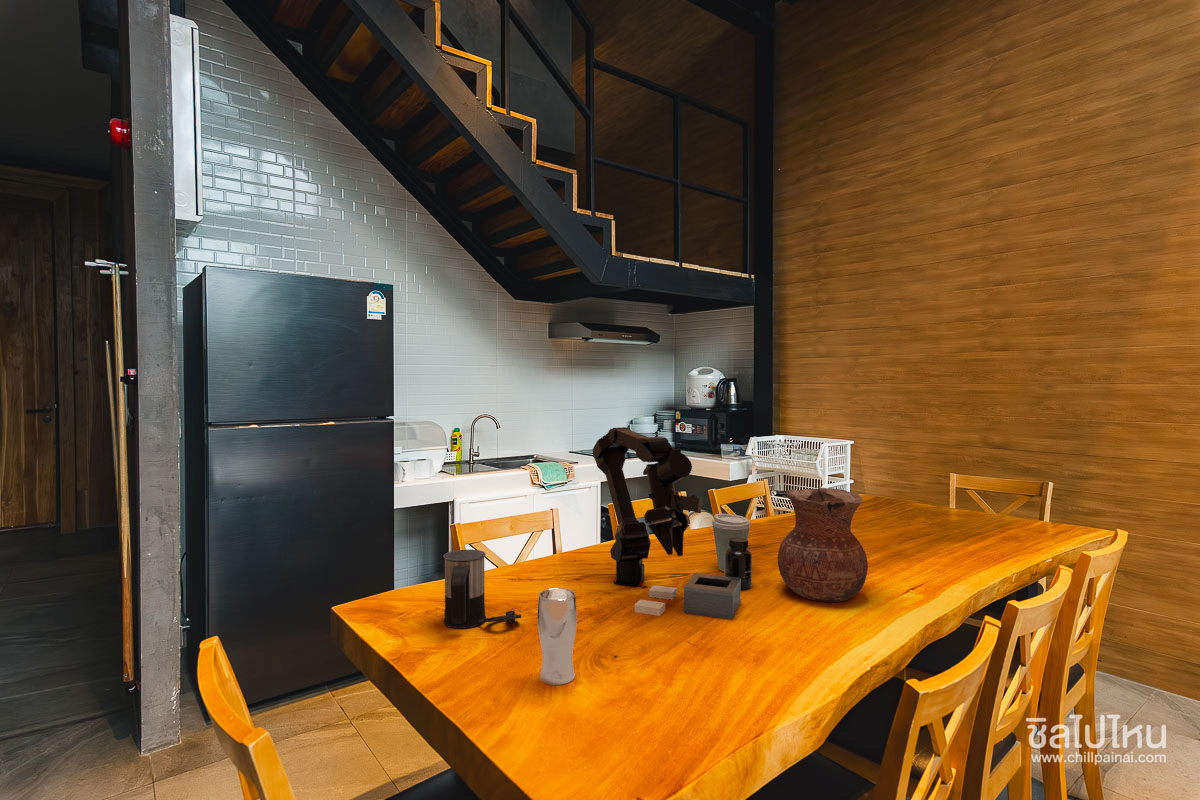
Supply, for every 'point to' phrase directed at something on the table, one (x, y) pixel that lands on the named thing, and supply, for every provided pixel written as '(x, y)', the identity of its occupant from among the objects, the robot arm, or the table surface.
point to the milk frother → (467, 590)
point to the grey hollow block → (712, 595)
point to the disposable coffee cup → (728, 533)
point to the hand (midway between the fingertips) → (675, 555)
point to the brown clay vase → (823, 546)
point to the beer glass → (557, 634)
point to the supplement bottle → (739, 561)
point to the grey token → (662, 592)
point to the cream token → (649, 607)
